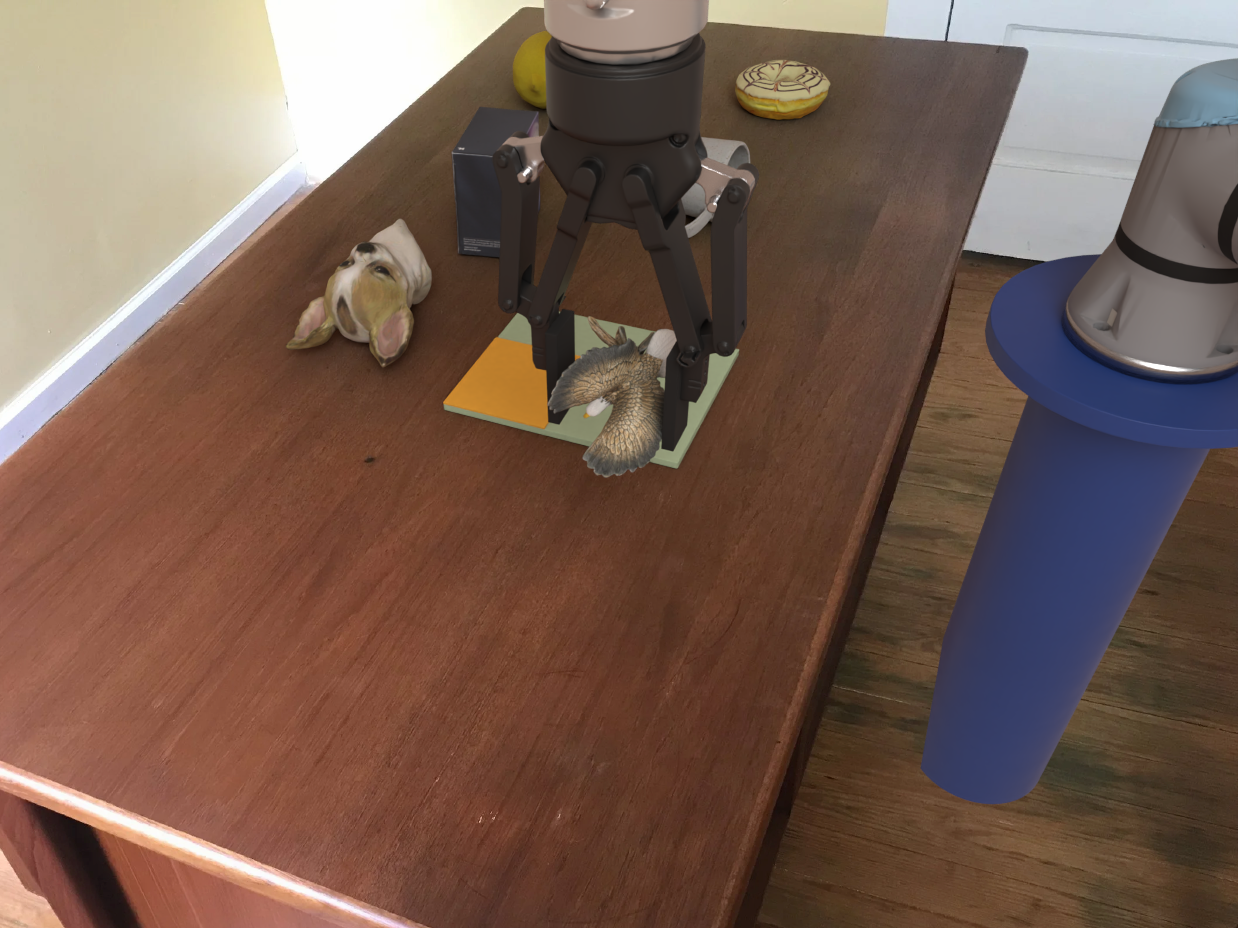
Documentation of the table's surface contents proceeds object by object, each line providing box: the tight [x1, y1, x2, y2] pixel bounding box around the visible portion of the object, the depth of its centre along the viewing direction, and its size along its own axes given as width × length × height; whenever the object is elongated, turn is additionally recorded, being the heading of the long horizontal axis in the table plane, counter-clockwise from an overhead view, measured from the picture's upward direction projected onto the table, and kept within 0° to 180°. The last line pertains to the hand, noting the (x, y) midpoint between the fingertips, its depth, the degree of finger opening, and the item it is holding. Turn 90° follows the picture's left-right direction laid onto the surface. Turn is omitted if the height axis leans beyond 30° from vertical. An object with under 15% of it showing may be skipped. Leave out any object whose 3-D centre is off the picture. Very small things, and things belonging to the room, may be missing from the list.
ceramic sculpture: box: [285, 218, 433, 368], centre depth 96 cm, size 11×9×15 cm
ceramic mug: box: [681, 136, 751, 239], centre depth 108 cm, size 11×8×8 cm
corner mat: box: [442, 310, 740, 470], centre depth 91 cm, size 20×16×1 cm
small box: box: [451, 106, 541, 259], centre depth 107 cm, size 11×6×10 cm, turn 167°
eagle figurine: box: [547, 315, 677, 478], centre depth 66 cm, size 8×7×9 cm
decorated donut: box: [734, 59, 831, 121], centre depth 127 cm, size 10×11×4 cm
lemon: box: [512, 30, 552, 110], centre depth 129 cm, size 11×8×8 cm
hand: (617, 423), depth 67 cm, fingers closed on eagle figurine, 7 cm apart
